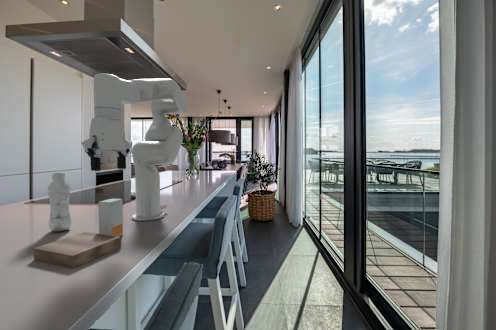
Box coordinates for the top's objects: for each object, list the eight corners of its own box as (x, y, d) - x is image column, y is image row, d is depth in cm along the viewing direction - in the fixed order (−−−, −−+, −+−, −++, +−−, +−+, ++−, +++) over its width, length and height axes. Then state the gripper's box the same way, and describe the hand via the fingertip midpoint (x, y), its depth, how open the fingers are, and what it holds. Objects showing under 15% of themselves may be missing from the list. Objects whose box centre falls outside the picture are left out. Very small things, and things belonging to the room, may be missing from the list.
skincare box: (110, 240, 79) (109, 202, 78) (98, 239, 80) (97, 201, 79) (123, 234, 85) (123, 198, 84) (112, 233, 86) (111, 198, 85)
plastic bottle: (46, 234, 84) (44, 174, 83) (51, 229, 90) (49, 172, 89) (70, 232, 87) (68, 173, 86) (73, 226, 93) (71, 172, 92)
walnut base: (85, 241, 78) (84, 231, 78) (120, 247, 73) (120, 237, 73) (33, 259, 65) (33, 248, 65) (73, 268, 60) (72, 255, 60)
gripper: (120, 119, 90) (121, 167, 90) (72, 111, 73) (74, 171, 74) (138, 118, 87) (138, 168, 88) (92, 110, 71) (93, 171, 72)
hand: (109, 169), depth 81 cm, fingers open, 9 cm apart
